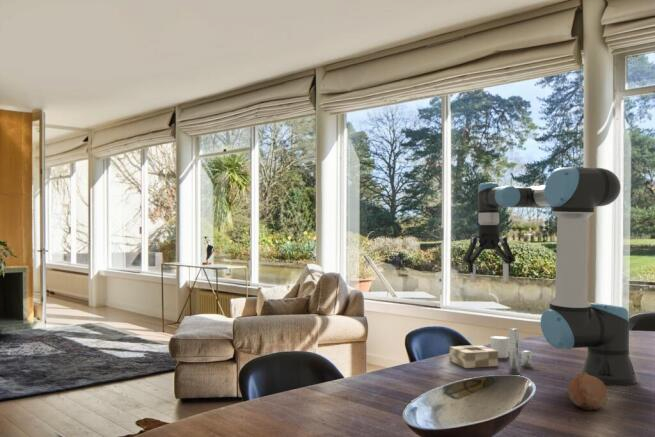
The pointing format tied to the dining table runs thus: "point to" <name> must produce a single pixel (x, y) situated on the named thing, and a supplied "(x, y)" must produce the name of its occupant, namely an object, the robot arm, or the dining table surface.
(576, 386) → the onion
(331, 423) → the dining table surface
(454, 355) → the hole block
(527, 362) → the short pin
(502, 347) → the shot glass
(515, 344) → the long pin
